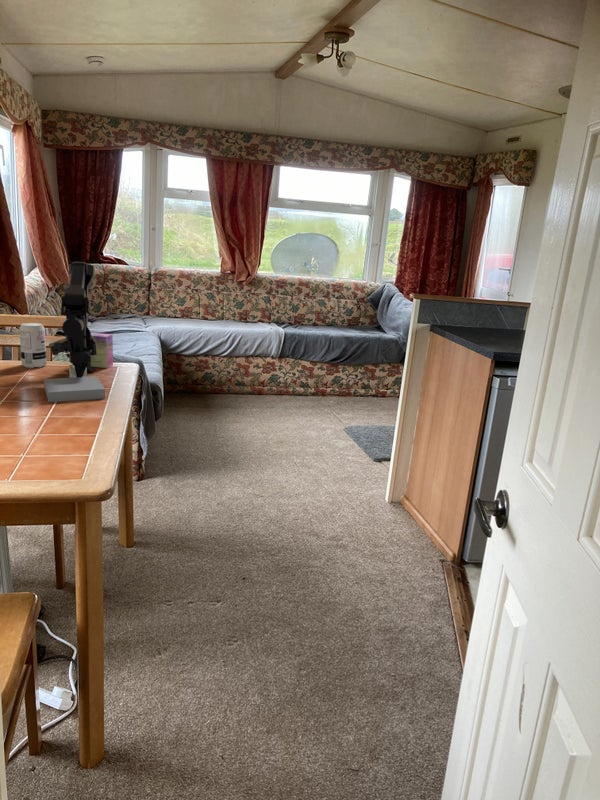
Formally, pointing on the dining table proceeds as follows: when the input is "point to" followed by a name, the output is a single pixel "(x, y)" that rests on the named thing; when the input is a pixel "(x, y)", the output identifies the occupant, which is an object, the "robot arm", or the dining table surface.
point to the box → (102, 350)
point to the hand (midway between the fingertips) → (78, 377)
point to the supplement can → (33, 345)
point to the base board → (73, 389)
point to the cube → (73, 373)
